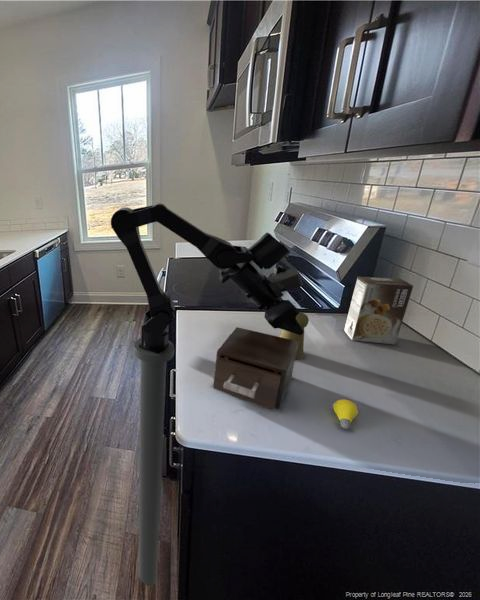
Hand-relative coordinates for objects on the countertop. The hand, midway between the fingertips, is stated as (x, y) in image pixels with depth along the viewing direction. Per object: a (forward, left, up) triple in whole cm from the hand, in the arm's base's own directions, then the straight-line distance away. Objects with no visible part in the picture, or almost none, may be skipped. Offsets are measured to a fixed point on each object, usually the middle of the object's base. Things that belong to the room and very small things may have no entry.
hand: (294, 325), depth 78 cm
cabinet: (-4, -18, -8) cm, 20 cm away
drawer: (-4, -23, -7) cm, 24 cm away
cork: (0, 0, -8) cm, 8 cm away
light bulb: (+12, -21, -8) cm, 26 cm away
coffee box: (+15, +20, -8) cm, 26 cm away
